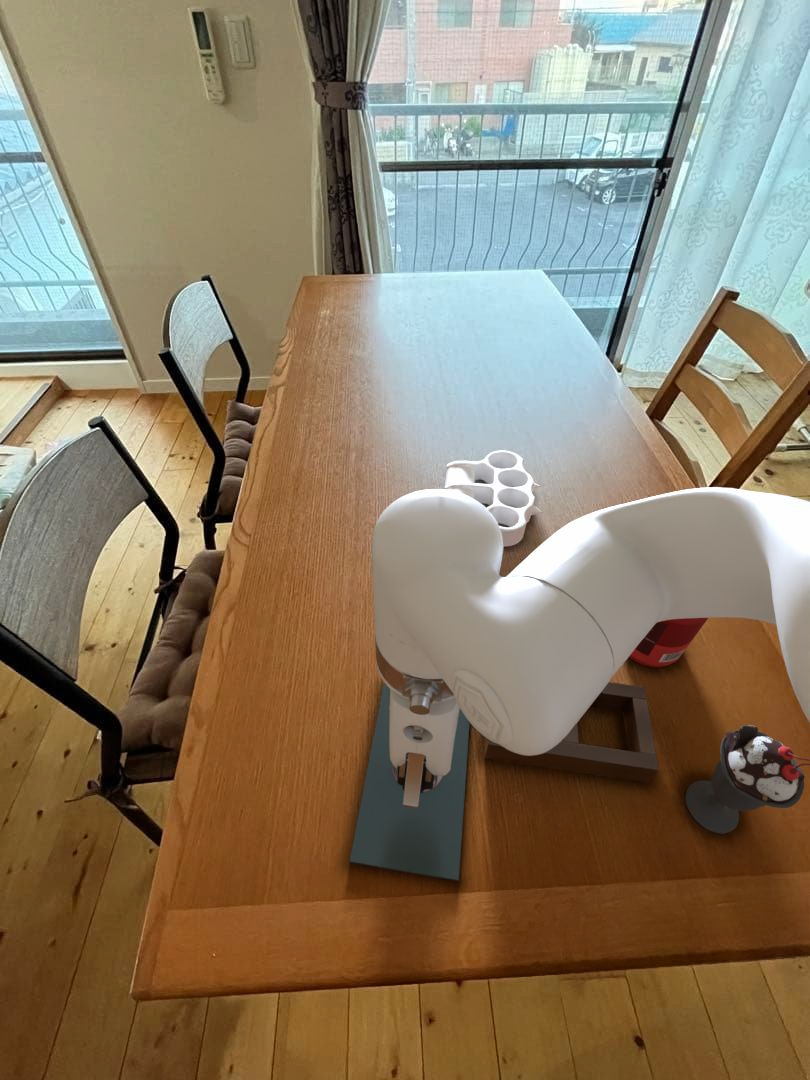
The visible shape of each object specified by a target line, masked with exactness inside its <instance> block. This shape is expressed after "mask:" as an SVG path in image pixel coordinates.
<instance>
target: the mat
mask: <svg viewBox="0 0 810 1080" xmlns="http://www.w3.org/2000/svg"><path fill="white" fill-rule="evenodd" d="M389 707H390V688H389V687H388V686H387V685H386V684H384V685H382V690H381V695H380V700H379V706H378V711H377V716H376V721H375V727H374V732H373V737H372V741H371V742H372V743H371V748H370V752H369V758H368V761H367V762H368V763H367V769H366V773H365V779H364V783H363V789H362V793H361V794H362V795H361V799H360V803H359V804H360V805H359V809H358V815H357V820H356V826H355V831H354V836H353V841H352V846H351V851H350V857H349V863H350V864H354V865H360V866H366V867H372V868H378V869H384V870H390V871H395V872H401V873H408V874H414V875H420V876H425V877H431V878H436V879H441V880H442V879H443V880H448V881H454V882H459V881H460V868H461V855H462V841H463V840H462V839H463V825H464V812H465V811H464V809H465V797H466V781H467V770H468V769H467V767H468V754H469V739H470V738H469V737H470V725H471V723H470V722H469V720H468V719H467V718H466V717H465V715H464V714H463V712H462V711H461V709H459V716H458V722H457V728H456V734H455V740H454V747H453V754H452V761H451V768H450V771H449V772H448V773H447V774H446V775H445V776H442V778H441V780H440V782H439V783H438V784H437V785H436V786H435V787H434V788H433V789H430V790H428V791H425V792H423V793H420V798H419V806H418V808H412V807H406V806H403V798H404V790H403V788H402V787H403V786H401V785H399V784H398V783H397V779H396V778H395V776H394V773H393V768H392V762H391V759H390V742H389V726H390V709H389Z"/></svg>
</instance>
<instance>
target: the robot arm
mask: <svg viewBox="0 0 810 1080" xmlns="http://www.w3.org/2000/svg"><path fill="white" fill-rule="evenodd" d="M499 526H500V525H499V523H497V521H496V519H495V518H494V516H493V515H492V514H491V513H490V512H489V511H488V509H487V507H486V506H485V505H484V504H483V503H480V502H478V501H477V500H475V499H473V498H471V497H469V496H467V495H464V494H462V493H459V492H455V491H450V490H445V489H442V488H433V489H432V488H431V489H429V488H428V489H422V490H416V491H413V492H410V493H407V494H405V495H403V496H401V497H399V498H397V499H396V500H394V501H393V502H392V503H390V504H389V505H388V506H387V507H386V508H385V509H384V510H383V511H382V513H381V514H380V516H379V517H378V519H377V520H376V523H375V525H374V528H373V532H372V534H371V535H372V536H371V571H372V572H371V573H372V574H371V575H372V593H373V594H372V595H373V597H372V598H373V622H374V644H375V645H374V646H375V648H374V649H375V664H376V668H377V672H378V674H379V676H380V678H381V680H382V681H383V683H384V685H386V686H388V687H389V688H390V707H389V709H390V726H389V742H390V759H391V762H392V764H393V765H394V767H395V768H397V766H398V776H397V783H398V784H399V785H401V786H403V787H402V788H403V790H404V798H403V806H406V807H412V808H418V806H419V798H420V793H423V791H424V789H425V790H426V789H433V782H434V775H440V776H445V775H446V774H447V773H448V772H449V771H450V768H451V761H452V754H453V747H454V740H455V734H456V728H457V722H458V716H459V709H461V711H462V712H463V714H464V715H465V717H466V718H467V719H468V720H469V722H470V725H472V727H473V728H474V729H475V730H476V731H477V732H479V733H480V735H482V736H483V737H484V738H485V737H486V738H487V739H489V740H491V741H492V742H494V743H497V744H499V745H501V746H503V747H504V748H506V749H508V750H510V751H512V752H514V753H517V754H521V755H527V756H532V755H539V754H542V753H545V752H547V751H549V750H551V749H552V748H553V747H555V746H556V745H557V744H559V743H560V742H561V741H562V740H563V739H564V738H565V737H566V736H567V735H568V733H569V732H570V731H571V729H572V728H573V727H574V726H575V725H576V723H577V724H578V722H579V721H580V720H581V718H582V717H583V716H584V715H585V714H586V712H587V711H588V709H589V707H590V706H591V704H592V703H593V702H594V701H595V699H596V698H597V697H598V695H599V694H600V693H601V692H602V690H603V689H604V688H605V687H606V685H607V684H608V683H609V682H611V679H612V678H613V677H614V676H615V675H616V673H618V671H619V670H620V669H621V668H622V666H623V665H624V664H625V662H626V661H627V660H628V659H629V658H630V657H629V656H630V655H631V653H632V652H633V651H634V650H635V648H636V647H637V646H638V644H639V643H640V642H641V641H642V640H643V638H644V637H645V636H646V635H647V634H648V632H649V631H650V630H651V629H652V627H653V626H654V625H655V624H656V623H657V622H660V621H665V620H672V619H685V618H708V619H709V618H733V619H746V620H754V621H759V622H764V623H767V624H770V625H774V626H776V629H777V634H778V640H779V644H780V649H781V654H782V658H783V662H784V665H785V668H786V673H787V675H788V678H789V681H790V683H791V686H792V689H793V692H794V694H795V697H796V699H797V701H798V704H799V706H800V708H801V711H802V713H803V714H804V716H805V717H806V719H807V721H808V723H810V501H808V500H805V499H801V498H798V497H794V496H790V495H785V494H777V493H772V492H764V491H763V492H762V491H754V490H747V489H739V488H734V487H720V486H719V487H718V486H712V487H697V488H688V489H682V490H677V491H672V492H667V493H663V494H659V495H655V496H650V497H645V498H642V499H638V500H634V501H630V502H626V503H621V504H617V505H614V506H613V505H612V506H609V507H607V508H603V509H599V510H596V511H593V512H591V513H587V514H585V515H583V516H580V517H579V518H576V519H574V520H572V521H570V522H568V523H567V524H566V525H564V526H563V527H561V528H560V529H558V530H557V531H555V532H554V533H553V534H552V535H550V536H549V537H548V538H547V539H546V540H544V541H543V542H542V543H541V544H540V545H539V546H537V548H535V549H534V550H533V551H532V552H531V553H530V554H529V555H528V556H526V557H525V559H523V560H522V561H521V562H520V563H519V564H518V565H517V566H516V567H515V568H514V569H512V571H510V572H509V573H508V574H507V575H506V576H502V575H500V573H501V568H502V567H501V566H502V562H503V561H502V560H503V555H504V554H503V553H504V546H503V539H502V533H501V530H500V528H499ZM407 759H408V761H407ZM424 762H426V763H424Z"/></svg>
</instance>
